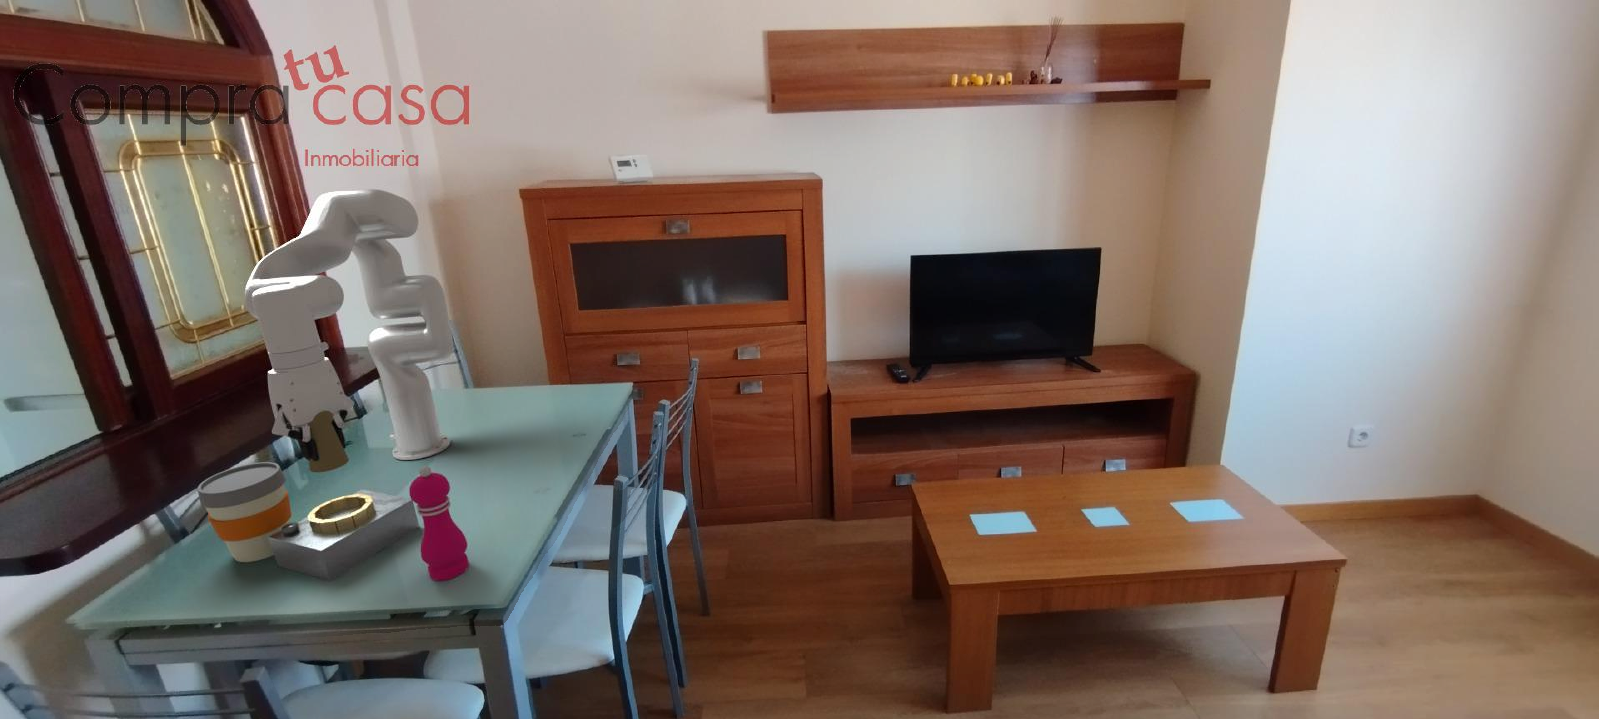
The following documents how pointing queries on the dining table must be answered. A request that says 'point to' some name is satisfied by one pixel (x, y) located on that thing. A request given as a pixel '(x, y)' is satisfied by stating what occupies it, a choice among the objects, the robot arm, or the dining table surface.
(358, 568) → the dining table surface
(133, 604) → the dining table surface
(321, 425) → the cork
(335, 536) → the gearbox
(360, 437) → the dining table surface
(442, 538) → the pepper mill
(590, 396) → the dining table surface
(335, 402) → the robot arm
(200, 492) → the reusable coffee cup
